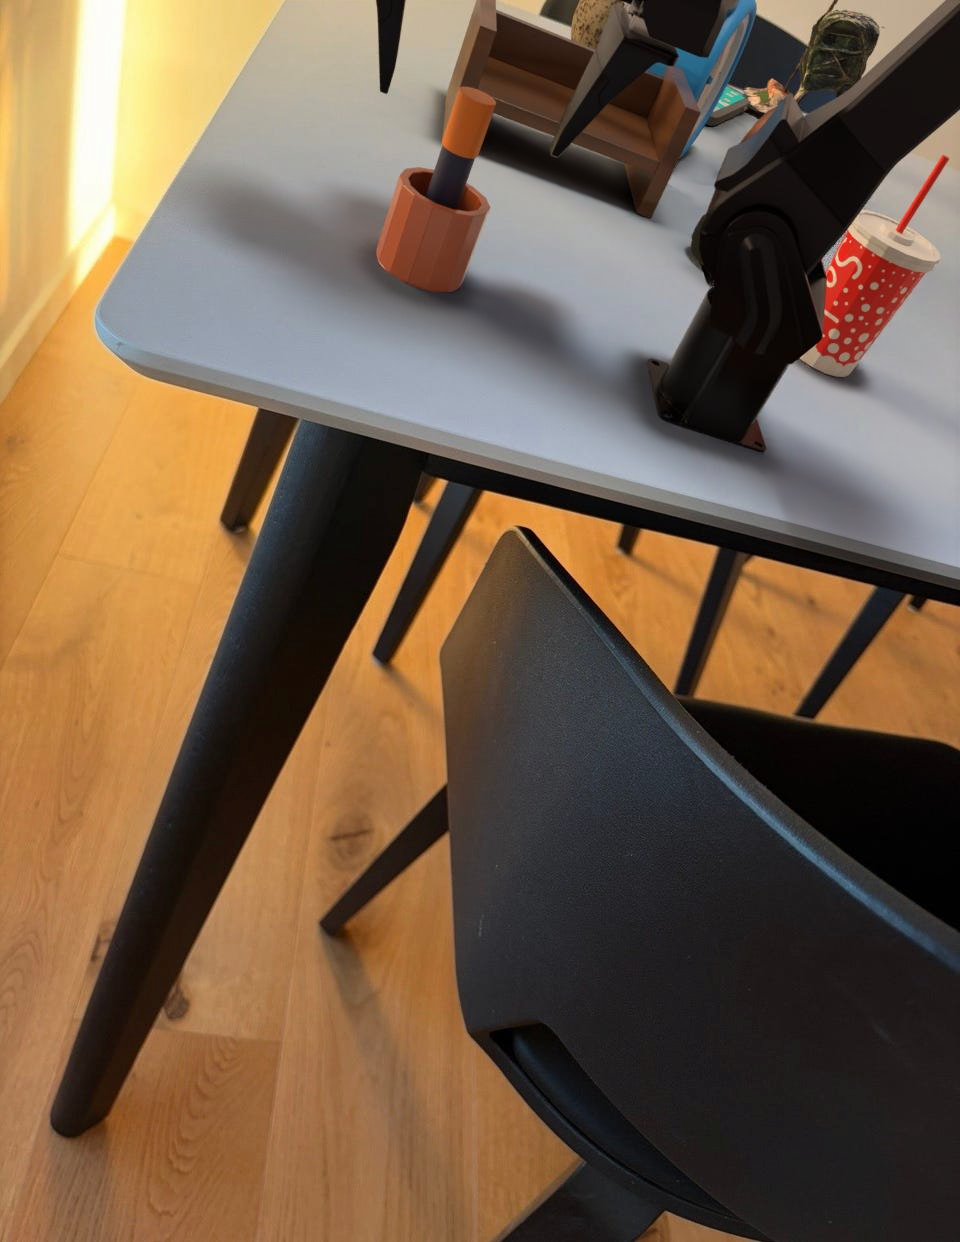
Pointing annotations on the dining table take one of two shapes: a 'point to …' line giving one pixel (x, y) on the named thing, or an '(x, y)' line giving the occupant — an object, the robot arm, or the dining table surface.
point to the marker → (460, 146)
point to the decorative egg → (591, 21)
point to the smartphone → (728, 106)
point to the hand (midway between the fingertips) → (470, 122)
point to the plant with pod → (826, 58)
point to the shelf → (545, 82)
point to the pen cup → (430, 234)
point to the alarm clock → (715, 62)
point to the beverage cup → (870, 283)
